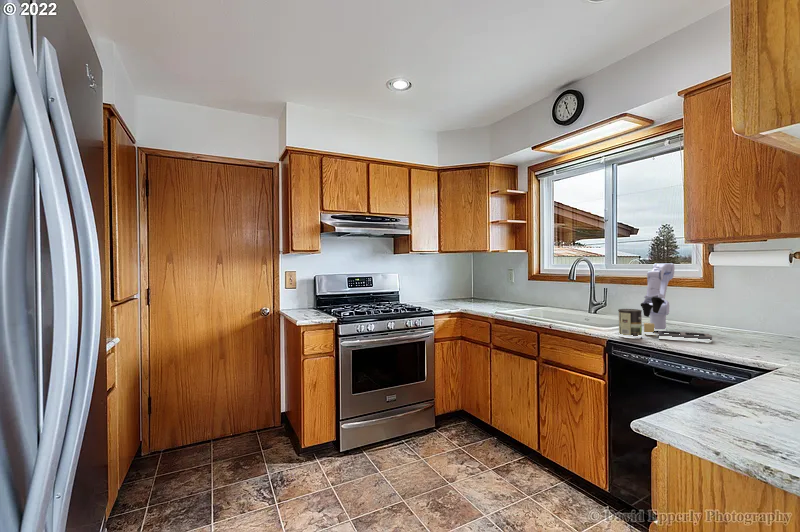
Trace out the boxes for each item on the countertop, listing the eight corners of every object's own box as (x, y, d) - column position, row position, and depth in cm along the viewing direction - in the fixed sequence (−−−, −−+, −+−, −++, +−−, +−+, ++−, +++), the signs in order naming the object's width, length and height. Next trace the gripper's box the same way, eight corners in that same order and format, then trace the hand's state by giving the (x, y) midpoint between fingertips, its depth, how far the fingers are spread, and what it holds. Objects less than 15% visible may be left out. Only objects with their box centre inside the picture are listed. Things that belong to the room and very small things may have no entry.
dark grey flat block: (658, 336, 198) (658, 330, 198) (708, 339, 187) (708, 333, 187) (659, 339, 190) (659, 333, 190) (712, 343, 179) (711, 337, 179)
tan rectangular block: (644, 333, 205) (643, 322, 205) (654, 334, 203) (654, 323, 203) (644, 335, 202) (644, 323, 202) (654, 336, 199) (654, 324, 199)
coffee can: (641, 336, 198) (641, 309, 198) (642, 340, 189) (641, 311, 189) (618, 334, 204) (618, 308, 204) (618, 338, 195) (617, 310, 195)
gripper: (637, 292, 211) (634, 315, 206) (654, 283, 198) (651, 307, 193) (650, 296, 210) (648, 319, 205) (668, 288, 197) (666, 312, 192)
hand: (650, 314), depth 199 cm, fingers open, 7 cm apart
